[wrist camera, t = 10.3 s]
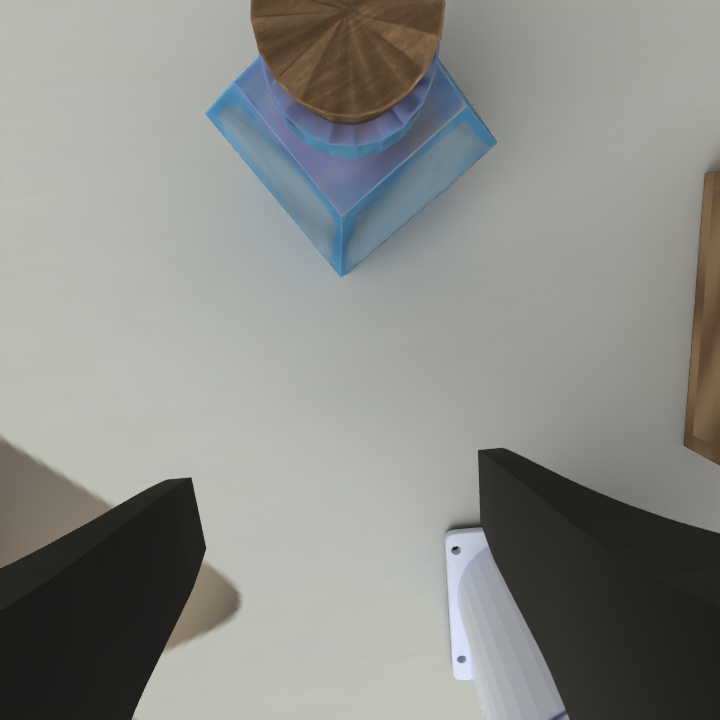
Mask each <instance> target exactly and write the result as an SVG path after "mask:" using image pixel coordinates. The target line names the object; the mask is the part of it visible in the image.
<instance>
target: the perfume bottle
mask: <svg viewBox="0 0 720 720" xmlns="http://www.w3.org/2000/svg"><path fill="white" fill-rule="evenodd" d="M444 8H445V0H251V22H252V26H253V30H254V34H255V38H256V42H257V46H258V50H259V57H258V58H257V59H256V60H255V61H254V62H253V63H252V64H251V65H250V66H249V67H248V68H247V69H246V70H245V71H244V72H243V73H242V74H241V75H240V76H239V77H238V78H237V79H236V80H235V81H234V82H233V83H232V84H231V85H230V87H229V88H228V89H227V90H226V91H225V92H224V93H223V94H222V95H221V96H220V98H219V99H218V100H217V101H216V102H215V103H214V104H213V105H212V106H211V108H210V109H209V110H208V111H207V112H206V113H205V114H206V115H207V116H208V117H209V119H210V120H211V121H212V122H213V123H214V125H215V126H216V127H217V128H218V130H219V131H220V132H221V133H222V134H223V136H224V137H225V138H226V139H227V140H228V142H229V143H230V144H231V145H232V146H233V148H234V149H235V150H236V151H237V152H238V154H239V155H240V156H241V157H242V158H243V160H244V161H245V162H246V163H247V164H248V166H249V167H250V168H251V169H252V171H253V172H254V173H255V174H256V175H257V177H258V178H259V179H260V180H261V181H262V183H263V184H264V185H265V186H266V187H267V189H268V190H269V191H270V192H271V193H272V195H273V196H274V197H275V198H276V199H277V201H278V202H279V203H280V204H281V205H282V207H283V208H284V209H285V210H286V212H287V213H288V214H289V215H290V216H291V218H292V219H293V220H294V221H295V222H296V224H297V225H298V226H299V227H300V228H301V230H302V231H303V232H304V233H305V234H306V236H307V237H308V238H309V239H310V240H311V242H312V243H313V244H314V245H315V246H316V248H317V249H318V250H319V251H320V252H321V254H322V255H323V256H324V257H325V259H326V260H327V261H328V262H329V263H330V265H331V266H332V267H333V268H334V269H335V271H336V272H337V273H338V274H339V275H340V277H342V276H344V275H346V274H347V273H348V272H349V271H351V270H352V269H353V268H354V267H355V266H356V265H358V264H359V263H360V262H361V261H362V260H363V259H365V258H366V257H367V256H368V255H369V254H370V253H372V252H373V251H374V250H375V249H376V248H377V247H379V246H380V245H381V244H382V243H383V242H384V241H386V240H387V239H388V238H389V237H390V236H391V235H393V234H394V233H395V232H396V231H397V230H398V229H400V228H401V227H402V226H403V225H404V224H405V223H407V222H408V221H409V220H410V219H411V218H412V217H414V216H415V215H416V214H417V213H418V212H419V211H421V210H422V209H423V208H424V207H425V206H426V205H428V204H429V203H430V202H431V201H432V200H433V199H435V198H436V197H437V196H438V195H439V194H440V193H442V192H443V191H444V190H445V189H446V188H447V187H449V186H450V185H451V184H452V183H453V182H454V181H455V180H456V179H458V178H459V177H460V176H461V175H462V174H463V173H464V172H465V171H466V170H468V169H469V168H470V167H471V166H472V165H473V164H474V163H475V162H476V161H477V160H479V159H480V158H481V157H482V156H483V155H484V154H485V153H486V152H487V151H489V150H490V149H491V148H492V147H493V146H494V145H495V144H496V143H497V141H496V140H495V138H494V137H493V136H492V134H491V133H490V131H489V130H488V128H487V127H486V126H485V124H484V123H483V121H482V120H481V118H480V117H479V116H478V114H477V113H476V111H475V110H474V108H473V107H472V106H471V104H470V103H469V101H468V100H467V98H466V97H465V96H464V94H463V93H462V91H461V90H460V88H459V87H458V86H457V84H456V83H455V81H454V80H453V78H452V77H451V76H450V74H449V73H448V71H447V70H446V68H445V67H444V66H443V64H442V63H441V61H440V60H439V58H438V51H439V42H440V39H441V34H442V26H443V17H444Z"/></svg>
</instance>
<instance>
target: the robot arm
mask: <svg viewBox="0 0 720 720" xmlns="http://www.w3.org/2000/svg"><path fill="white" fill-rule="evenodd" d="M478 462H479V493H480V523H481V526H482V527H479V528H468V529H456V530H451V531H449V532H447V534H446V535H445V552H446V569H447V586H448V603H449V620H450V637H451V655H452V669H453V674H454V677H455V678H456V679H459V680H472V679H473V682H474V685H475V689H476V693H477V696H478V700H479V704H480V707H481V711H482V714H483V718H484V720H720V533H716V532H712V531H709V530H705V529H701V528H698V527H694V526H691V525H687V524H684V523H681V522H677V521H674V520H671V519H668V518H665V517H662V516H659V515H656V514H653V513H650V512H647V511H645V510H642V509H639V508H636V507H633V506H630V505H628V504H625V503H622V502H620V501H617V500H615V499H612V498H610V497H608V496H605V495H603V494H600V493H598V492H596V491H593V490H591V489H589V488H586V487H584V486H582V485H580V484H578V483H575V482H573V481H571V480H569V479H567V478H565V477H563V476H561V475H559V474H557V473H555V472H552V471H550V470H548V469H546V468H544V467H542V466H540V465H538V464H536V463H535V462H533V461H531V460H529V459H527V458H525V457H522V456H520V455H518V454H516V453H514V452H512V451H510V450H507V449H504V448H497V449H486V450H478ZM455 546H458V547H459V548H458V549H456V550H452V548H453V547H455ZM205 551H206V545H205V540H204V536H203V531H202V526H201V521H200V517H199V512H198V507H197V502H196V497H195V493H194V488H193V483H192V478H191V477H190V478H180V479H169V480H165V481H163V482H160V483H158V484H156V485H154V486H152V487H150V488H148V489H146V490H145V491H143V492H141V493H139V494H137V495H136V496H134V497H132V498H130V499H129V500H127V501H125V502H123V503H122V504H120V505H118V506H116V507H115V508H113V509H111V510H109V511H108V512H106V513H104V514H103V515H101V516H99V517H97V518H96V519H94V520H92V521H90V522H89V523H87V524H85V525H83V526H81V527H80V528H78V529H76V530H74V531H72V532H70V533H69V534H67V535H65V536H63V537H61V538H59V539H58V540H56V541H54V542H52V543H51V544H48V545H47V546H45V547H43V548H41V549H39V550H37V551H35V552H33V553H31V554H29V555H27V556H25V557H23V558H21V559H19V560H17V561H15V562H13V563H11V564H9V565H7V566H5V567H3V568H0V720H131V719H132V717H133V714H134V712H135V709H136V707H137V705H138V702H139V700H140V698H141V696H142V693H143V691H144V689H145V687H146V684H147V682H148V680H149V678H150V676H151V674H152V672H153V670H154V668H155V666H156V664H157V662H158V660H159V658H160V656H161V654H162V652H163V650H164V648H165V646H166V643H167V641H168V639H169V637H170V635H171V633H172V631H173V629H174V627H175V625H176V623H177V621H178V619H179V617H180V615H181V612H182V611H183V608H184V606H185V604H186V602H187V600H188V598H189V596H190V594H191V591H192V589H193V587H194V584H195V581H196V578H197V576H198V572H199V570H200V567H201V563H202V560H203V557H204V554H205ZM461 655H462V656H461ZM459 656H461V657H459Z"/></svg>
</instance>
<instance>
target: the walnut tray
mask: <svg viewBox="0 0 720 720" xmlns="http://www.w3.org/2000/svg"><path fill="white" fill-rule="evenodd" d="M684 446H685V447H687V448H689V449H691V450H692V451H694V452H696V453H698V454H700V455H702V456H703V457H705V458H707V459H709V460H711V461H713V462H714V463H716V464H718V465H720V170H719V171H715V172H712V173H708V174H705V183H704V196H703V209H702V222H701V234H700V247H699V260H698V273H697V286H696V299H695V311H694V324H693V337H692V350H691V363H690V375H689V388H688V401H687V414H686V427H685V439H684Z"/></svg>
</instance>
